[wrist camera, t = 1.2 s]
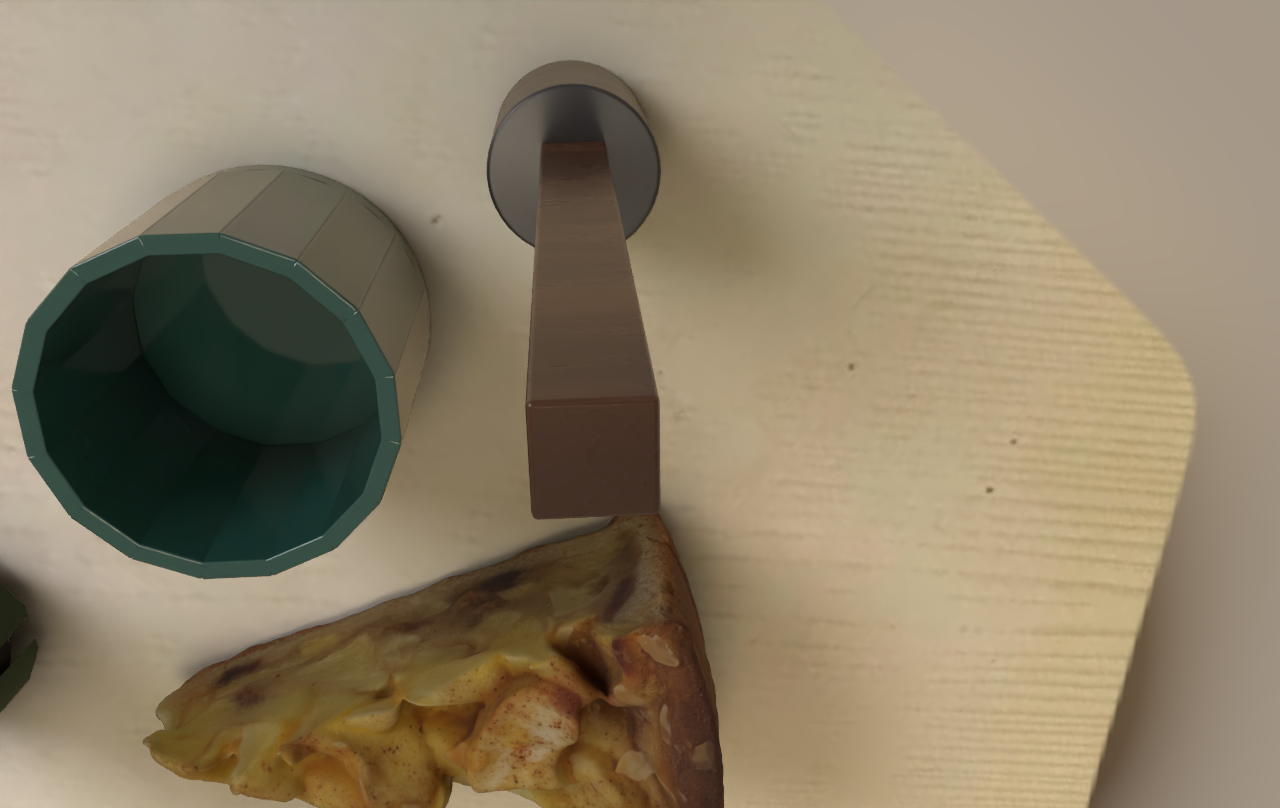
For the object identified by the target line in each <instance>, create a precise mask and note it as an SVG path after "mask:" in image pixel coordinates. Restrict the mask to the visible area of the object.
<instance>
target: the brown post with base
mask: <svg viewBox="0 0 1280 808" xmlns="http://www.w3.org/2000/svg"><path fill="white" fill-rule="evenodd" d="M660 176H661V166H660V157H659V152H658V147H657V144H656V142H655V139H654V136H653V134H652V131H651V129H650V127H649V124H648V122H647V120H646V117H645V115H644V113H643V111H642V108H641V106H640V104H639V102H638V100H637V98H636V97H635V95H634V94H633V92H632V91H631V90H630V88H629V87H628V86H627V85H626V84H625V83H624V82H623V81H622V80H621V79H620V78H618V77H617V76H616V75H614V74H613V73H611V72H610V71H608V70H606V69H604V68H602V67H600V66H598V65H595V64H591V63H588V62H582V61H570V60H568V61H558V62H554V63H549V64H547V65H544V66H541V67H539V68H537V69H535V70H533V71H531V72H530V73H528V74H527V75H526V76H524V77H523V78H522V79H521V80H520V81H519V82H518V83H517V84H516V85H515V86H514V87H513V88H512V90H511V91H510V92H509V93H508V95H507V97H506V98H505V100H504V102H503V104H502V107H501V109H500V112H499V115H498V119H497V122H496V126H495V130H494V133H493V137H492V141H491V144H490V148H489V152H488V158H487V181H488V187H489V191H490V195H491V198H492V201H493V203H494V205H495V208H496V210H497V211H498V213H499V215H500V217H501V218H502V220H503V221H504V222H505V223H506V225H507V226H508V227H509V228H510V229H511V230H512V231H513V232H514V233H515V234H516V235H517V236H518V237H519V238H521V239H522V240H523V241H525V242H526V243H528V244H529V245H531V246H533V247H535V255H534V272H533V289H532V305H531V322H530V339H529V355H528V372H527V389H526V406H525V407H526V424H527V442H528V459H529V477H530V494H531V512H532V515H533V517H534V518H535V519H559V518H581V517H603V516H625V515H648V514H656V513H658V512H659V510H660V508H661V502H660V404H659V396H658V392H657V387H656V382H655V377H654V373H653V368H652V363H651V359H650V354H649V349H648V344H647V340H646V335H645V330H644V325H643V321H642V316H641V311H640V306H639V302H638V297H637V292H636V288H635V283H634V278H633V273H632V269H631V264H630V259H629V254H628V250H627V245H626V240H627V239H628V238H629V237H630V236H631V235H633V234H634V233H635V232H636V231H637V230H638V229H639V227H640V226H641V225H642V224H643V223H644V221H645V220H646V218H647V217H648V215H649V214H650V212H651V210H652V207H653V205H654V203H655V200H656V197H657V194H658V190H659V185H660Z"/></svg>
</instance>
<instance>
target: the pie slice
mask: <svg viewBox="0 0 1280 808" xmlns="http://www.w3.org/2000/svg"><path fill="white" fill-rule="evenodd" d="M156 716H157V718H158V719H159V720H161V721H162V722H163V724H164V726H165V730H159V731H157V732H155V733H153V734H152V735H150V736H148V737H146V738H145V739H144V740H143V744H144V745H146V746H147V747H148V748H149V749H150V752H151V755H152V757H153V759H154V760H155V761H156V762H157V763H159V764H161V765H162V766H164V767H165V768H167V769H168V770H170V771H172V772H173V773H175V774H176V775H178V776H179V777H182V778H186V779H189V780H203V781H210V782H219V783H225V784H229V785H230V790H231V792H232V793H233V794H234V795H238V794H243V795H246V796H248V797H254V798H259V799H265V800H274V801H280V802H287V801H290V800H292V799H293V798H298V799H300V800H303V801H305V802H307V803H309V804H311V805H313V806H316V807H318V808H445V807H446V805H447V804H448V801H449V798H450V795H451V792H452V782H457V783H460V784H463V785H467V786H471V787H472V788H473V790H474V791H476V792H477V793H485V792H492V791H501V790H507V791H510V792H513V793H516V794H518V795H520V796H522V797H524V798H527V799H529V800H532V801H534V802H535V803H537V804H538V805H539V806H540V807H541V808H724V786H723V763H722V753H721V748H720V743H719V724H718V712H717V708H716V694H715V686H714V682H713V679H712V675H711V669H710V664H709V662H708V659H707V656H706V652H705V644H704V637H703V632H702V627H701V623H700V620H699V616H698V612H697V609H696V606H695V603H694V600H693V597H692V594H691V591H690V587H689V583H688V580H687V577H686V574H685V572H684V569H683V567H682V565H681V563H680V561H679V557H678V555H677V552H676V550H675V547H674V544H673V541H672V539H671V536H670V534H669V532H668V530H667V528H666V527H665V525H664V523H663V521H662V520H661V518H660V516H659V514H658V513H656V514H648V515H625V516H616V517H615V518H614V519H613V520H612V521H611V522H610V524H609V525H608V526H607V527H605V528H604V529H601V530H599V531H596V532H593V533H589V534H585V535H582V536H578V537H575V538H571V539H568V540H565V541H562V542H557V543H552V544H546V545H541V546H537V547H534V548H531V549H528V550H526V551H524V552H522V553H520V554H518V555H516V556H514V557H513V558H510V559H508V560H505V561H503V562H500V563H498V564H495V565H492V566H488V567H485V568H482V569H479V570H476V571H473V572H469V573H466V574H462V575H457V576H452V577H449V578H446V579H444V580H441V581H440V582H438V583H436V584H434V585H432V586H430V587H428V588H425V589H423V590H421V591H419V592H416V593H414V594H411V595H408V596H404V597H399V598H396V599H392V600H389V601H386V602H384V603H381V604H379V605H377V606H375V607H373V608H370V609H368V610H366V611H363V612H360V613H358V614H354V615H351V616H349V617H346V618H344V619H341V620H339V621H336V622H333V623H330V624H326V625H319V626H315V627H312V628H309V629H305V630H302V631H299V632H296V633H294V634H292V635H289V636H286V637H283V638H279V639H276V640H274V641H272V642H268V643H265V644H260V645H256V646H253V647H250V648H248V649H246V650H245V651H243V652H241V653H240V654H238V655H237V656H235V657H233V658H231V659H229V660H226V661H222V662H219V663H216V664H213V665H211V666H209V667H207V668H205V669H203V670H201V671H199V672H198V673H197V674H195V675H194V676H192V677H191V678H190V679H189V680H187V681H186V682H185V683H184V684H183V685H182V686H181V687H180V688H179V689H177V690H176V691H174V692H172V693H171V694H170V695H169V696H167V697H166V698H165V699H164V700H163V701H162V702H161V703H160V704H159V706H158V707H157V709H156Z"/></svg>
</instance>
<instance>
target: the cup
mask: <svg viewBox="0 0 1280 808" xmlns="http://www.w3.org/2000/svg"><path fill="white" fill-rule="evenodd" d="M429 333H430V306H429V300H428V293H427V288H426V285H425V282H424V278H423V275H422V272H421V270H420V267H419V265H418V263H417V261H416V258H415V256H414V254H413V252H412V251H411V249H410V247H409V246H408V244H407V243H406V241H405V239H404V238H403V236H402V235H401V234H400V232H399V231H398V230H397V229H396V227H395V226H394V225H393V224H392V222H391V221H390V220H389V219H388V218H387V217H386V216H385V215H384V214H383V213H382V212H381V211H379V210H378V209H377V208H376V207H375V206H374V205H373V204H371V203H370V202H369V201H367V200H366V199H365V198H363V197H362V196H361V195H360V194H358V193H356V192H355V191H353V190H351V189H349V188H348V187H346V186H344V185H343V184H341V183H339V182H336V181H334V180H332V179H329V178H327V177H325V176H322V175H319V174H316V173H313V172H309V171H306V170H302V169H297V168H291V167H285V166H275V165H253V166H242V167H236V168H232V169H227V170H223V171H219V172H216V173H213V174H211V175H208V176H206V177H203V178H200V179H199V180H197V181H195V182H193V183H191V184H189V185H188V186H186V187H184V188H182V189H181V190H179V191H177V192H175V193H173V194H171V195H169V196H166V197H165V198H164V199H162V200H161V201H160V202H158V203H157V204H156V205H154V206H153V207H152V208H150V209H149V210H148V211H146V212H145V213H144V214H142V215H141V216H140V217H138V218H137V219H135V220H134V221H133V222H131V223H130V224H129V225H127V226H126V227H125V228H123V229H122V230H121V231H119V232H118V233H117V234H115V235H114V236H113V237H111V238H110V239H109V240H107V241H106V242H104V243H103V244H102V245H100V246H99V247H98V248H96V249H95V250H94V251H92V252H91V253H90V254H88V255H87V256H86V257H84V258H83V259H82V260H80V261H79V262H77V263H76V264H75V265H73V266H72V267H71V268H70V269H69V270H68V271H67V272H66V274H65V275H64V276H63V277H62V278H61V280H60V281H59V282H58V283H57V284H56V286H55V287H54V288H53V289H52V291H51V292H50V293H49V294H48V295H47V297H46V298H45V299H44V300H43V301H42V303H41V304H40V305H39V306H38V308H37V309H36V310H35V311H34V312H33V314H32V315H31V316H30V317H29V318H28V321H27V322H26V324H25V329H24V334H23V338H22V343H21V347H20V352H19V356H18V361H17V366H16V370H15V375H14V379H13V384H12V393H13V397H14V402H15V406H16V410H17V414H18V419H19V423H20V427H21V431H22V436H23V440H24V444H25V448H26V453H27V456H28V457H29V460H30V462H31V463H32V464H33V466H34V467H35V469H36V470H37V471H38V473H39V474H40V475H41V477H42V478H43V480H44V481H45V482H46V484H47V485H48V487H49V488H50V489H51V491H52V492H53V494H54V495H55V496H56V498H57V499H58V501H59V502H60V503H61V505H62V506H63V508H64V509H65V510H66V512H67V513H68V514H69V515H70V516H71V518H72V519H74V520H75V521H77V522H78V523H80V524H81V525H83V526H84V527H86V528H87V529H88V530H90V531H91V532H93V533H94V534H96V535H97V536H99V537H100V538H102V539H103V540H104V541H106V542H107V543H109V544H110V545H112V546H113V547H115V548H116V549H118V550H119V551H120V552H122V553H123V554H125V555H126V556H128V557H129V558H132V559H134V560H137V561H141V562H144V563H148V564H151V565H155V566H158V567H162V568H165V569H169V570H172V571H176V572H179V573H182V574H186V575H189V576H193V577H196V578H203V579H215V578H236V577H257V576H271V575H276V574H278V573H280V572H283V571H285V570H287V569H290V568H292V567H295V566H297V565H299V564H302V563H304V562H306V561H309V560H311V559H313V558H316V557H318V556H320V555H323V554H325V553H328V552H330V551H332V550H334V549H335V548H337V547H338V546H339V545H340V544H341V543H342V542H343V541H344V540H345V539H346V538H347V537H348V536H349V535H350V534H351V533H352V532H353V531H354V530H355V529H356V528H357V527H358V525H359V524H360V523H361V522H362V521H363V520H364V519H365V518H366V517H367V516H368V515H369V514H370V513H371V512H372V511H373V510H374V509H375V508H376V507H377V506H378V505H379V503H380V502H381V500H382V497H383V495H384V492H385V489H386V486H387V483H388V480H389V477H390V475H391V472H392V469H393V466H394V463H395V460H396V458H397V455H398V452H399V449H400V446H401V443H402V440H403V436H404V433H405V429H406V426H407V422H408V419H409V415H410V412H411V408H412V405H413V401H414V398H415V394H416V391H417V387H418V384H419V381H420V377H421V374H422V370H423V367H424V363H425V360H426V356H427V353H428V349H429V344H430V341H429Z"/></svg>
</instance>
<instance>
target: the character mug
mask: <svg viewBox="0 0 1280 808" xmlns="http://www.w3.org/2000/svg"><path fill="white" fill-rule="evenodd" d="M26 617H27V613H26V610H25V606H24V605H23V604H22V603H21V602H20V601H19V600H18V599H17V598H16V597H15V596H14V595H13V594H12V593H11V592H10V591H9V590H8V589H7V588H6V587H5V586H4V585H3V584H2V583H1V582H0V712H1V711H2V710H3V709H4V708H5V707H6V706H7V704H8V703H9V702H10V701H11V700H12V699H13V697H14V696H15V695H16V694H17V693H18V692H19V691H20V689H21V688H22V687H23V686H24V685H25V684H26V683H27V681H28V680H29V679H30V676H31V672H32V668H33V665H34V661H35V657H36V653H37V650H38V646H37V643H36V641H35V639H34V640H33V641H32V643H31V644H30V645H29V646H28V647H27V648H26V649H25V650H24V651H23V652H22V653H21V655H20V656H19V657H18V658H17V659H16V660H15V661H14V662H13V663H12V664H11V643H10V641H9V640H8V639H9V637H10V636H11V635H12V634H13V632H14V631H15V630H16V629H17V628H18V626H19V625H20V624H21V623H22V622H23V620H24V619H25V618H26Z"/></svg>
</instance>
